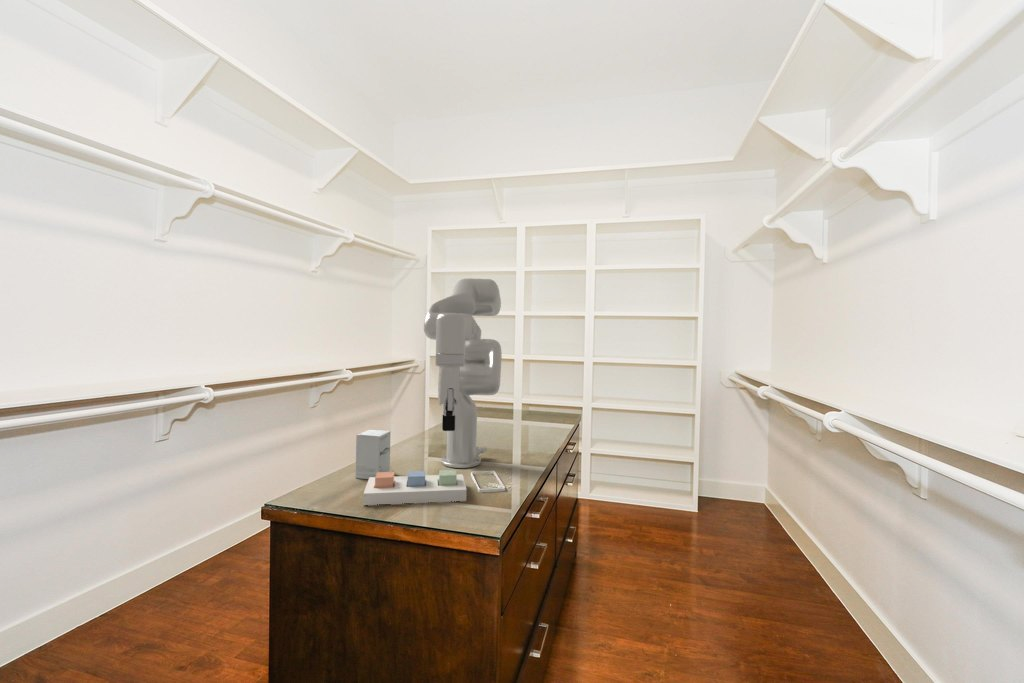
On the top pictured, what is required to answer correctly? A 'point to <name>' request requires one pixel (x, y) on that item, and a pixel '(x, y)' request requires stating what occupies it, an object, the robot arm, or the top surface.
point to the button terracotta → (384, 480)
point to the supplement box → (372, 453)
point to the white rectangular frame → (488, 489)
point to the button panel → (415, 491)
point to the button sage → (447, 477)
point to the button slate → (416, 478)
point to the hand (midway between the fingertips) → (448, 430)
